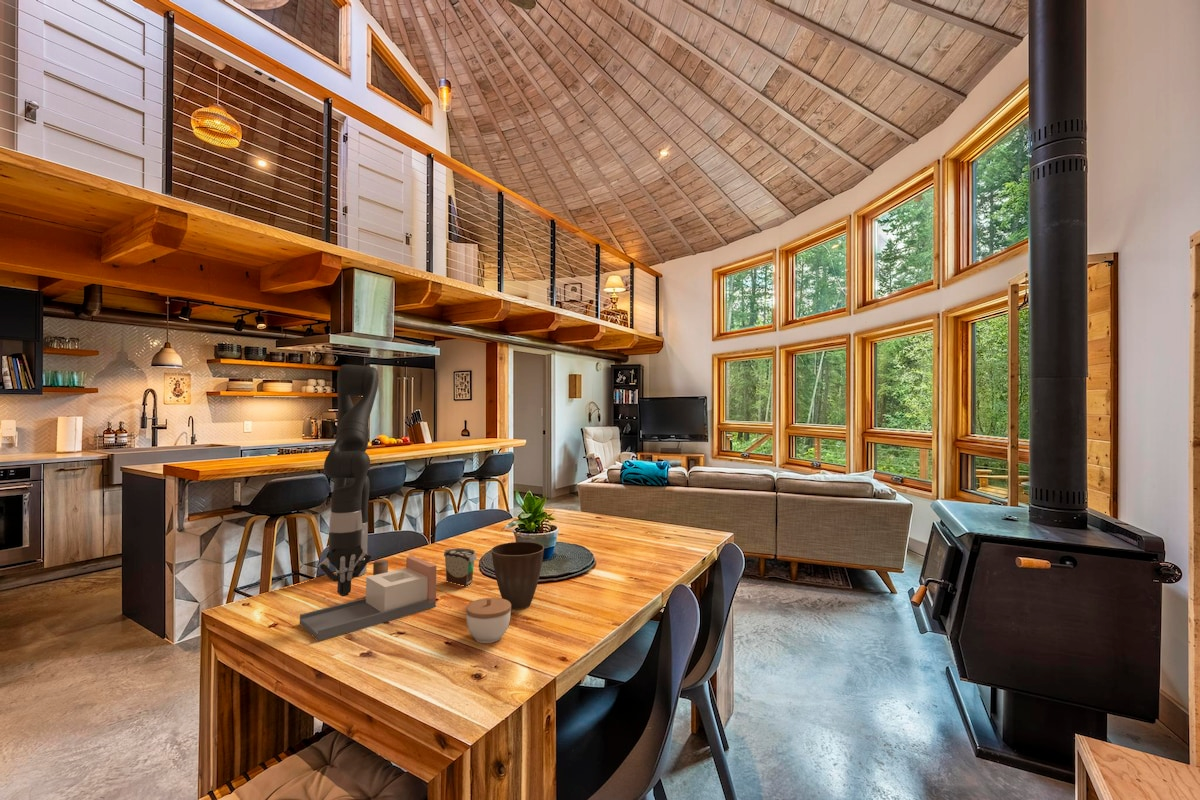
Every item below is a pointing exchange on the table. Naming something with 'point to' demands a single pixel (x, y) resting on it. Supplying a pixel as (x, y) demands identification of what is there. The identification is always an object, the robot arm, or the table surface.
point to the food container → (459, 565)
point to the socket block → (396, 589)
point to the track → (367, 609)
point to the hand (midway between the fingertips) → (343, 595)
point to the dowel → (380, 567)
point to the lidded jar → (488, 619)
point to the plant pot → (517, 571)
